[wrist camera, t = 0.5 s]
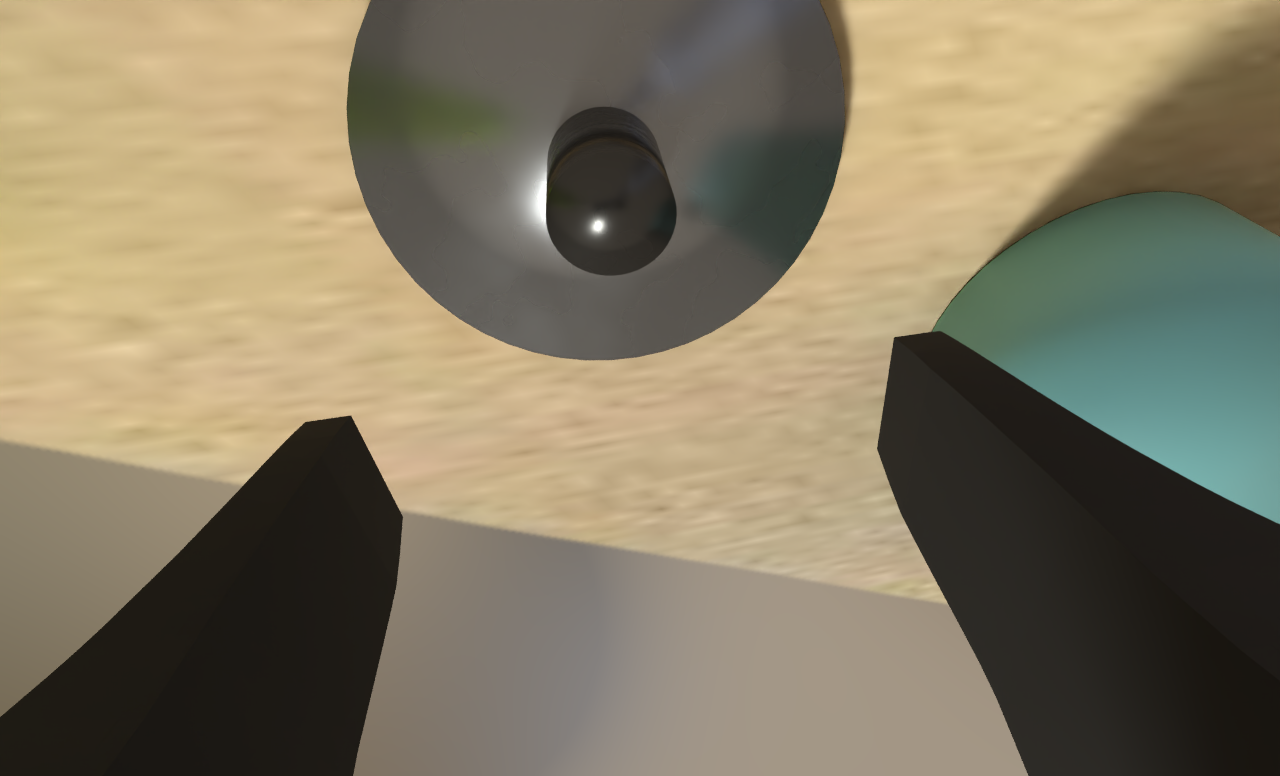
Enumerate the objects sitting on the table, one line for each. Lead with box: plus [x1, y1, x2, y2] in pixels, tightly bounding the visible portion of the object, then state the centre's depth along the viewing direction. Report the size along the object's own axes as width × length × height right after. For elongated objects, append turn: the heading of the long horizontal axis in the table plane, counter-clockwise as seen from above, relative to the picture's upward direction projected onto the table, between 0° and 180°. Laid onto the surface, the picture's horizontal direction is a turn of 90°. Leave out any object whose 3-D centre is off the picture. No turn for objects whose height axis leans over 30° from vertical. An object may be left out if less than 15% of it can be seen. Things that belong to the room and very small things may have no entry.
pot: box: [932, 191, 1280, 524], centre depth 21 cm, size 14×11×6 cm
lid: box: [347, 0, 845, 360], centre depth 16 cm, size 12×12×4 cm
